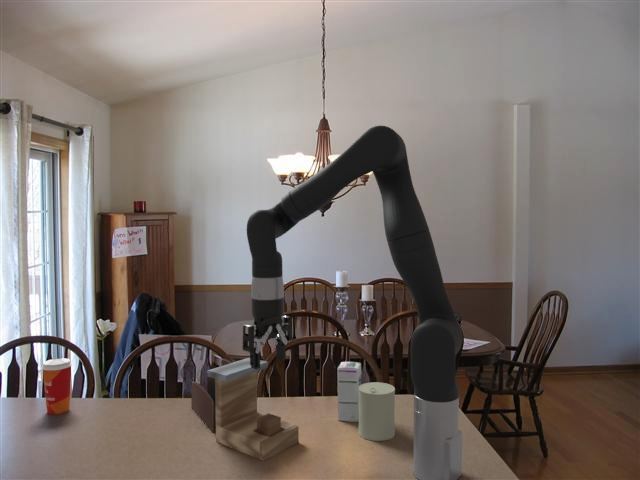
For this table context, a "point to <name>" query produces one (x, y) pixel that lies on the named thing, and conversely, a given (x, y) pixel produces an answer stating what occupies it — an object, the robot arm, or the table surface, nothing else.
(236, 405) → the socket stand
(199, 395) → the letter holder
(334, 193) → the robot arm
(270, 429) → the peg
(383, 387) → the can
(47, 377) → the paper cup
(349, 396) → the syrup box
